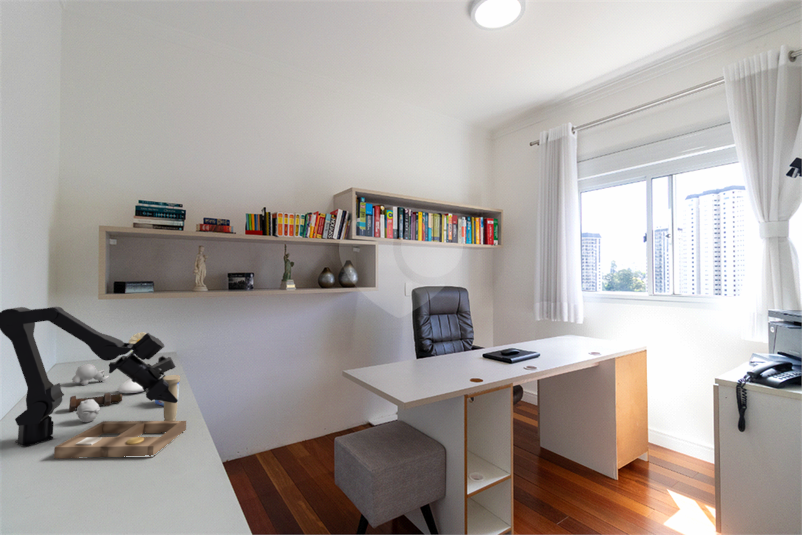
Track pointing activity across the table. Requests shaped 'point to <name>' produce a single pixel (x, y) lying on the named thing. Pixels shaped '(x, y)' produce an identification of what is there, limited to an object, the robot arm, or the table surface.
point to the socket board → (120, 439)
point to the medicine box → (163, 401)
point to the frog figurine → (88, 410)
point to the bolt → (101, 400)
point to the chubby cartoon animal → (88, 374)
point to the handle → (169, 407)
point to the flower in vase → (128, 384)
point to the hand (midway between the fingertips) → (175, 399)
